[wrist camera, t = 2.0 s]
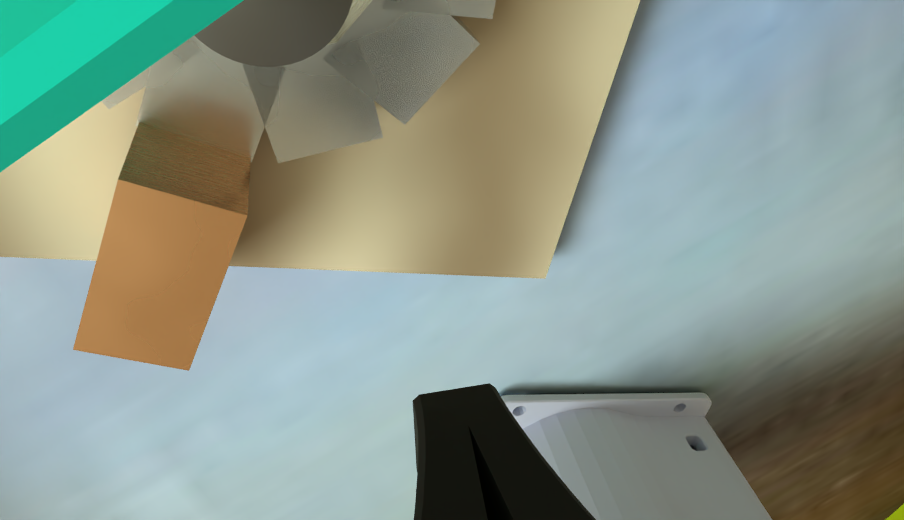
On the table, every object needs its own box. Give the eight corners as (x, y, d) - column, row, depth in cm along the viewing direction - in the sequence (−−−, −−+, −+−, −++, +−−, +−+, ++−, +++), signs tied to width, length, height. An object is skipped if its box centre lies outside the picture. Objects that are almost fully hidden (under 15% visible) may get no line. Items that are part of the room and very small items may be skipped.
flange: (26, -582, 10) (-81, -730, 7) (581, -208, 14) (664, -199, 11) (-67, 210, 16) (-144, 310, 13) (333, 305, 20) (343, 398, 17)
